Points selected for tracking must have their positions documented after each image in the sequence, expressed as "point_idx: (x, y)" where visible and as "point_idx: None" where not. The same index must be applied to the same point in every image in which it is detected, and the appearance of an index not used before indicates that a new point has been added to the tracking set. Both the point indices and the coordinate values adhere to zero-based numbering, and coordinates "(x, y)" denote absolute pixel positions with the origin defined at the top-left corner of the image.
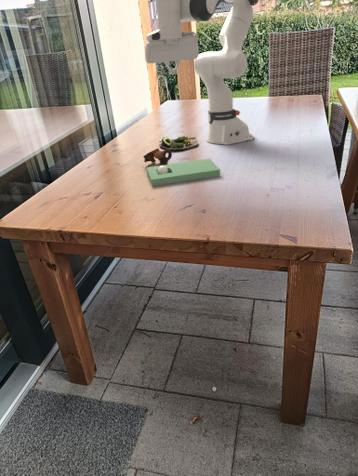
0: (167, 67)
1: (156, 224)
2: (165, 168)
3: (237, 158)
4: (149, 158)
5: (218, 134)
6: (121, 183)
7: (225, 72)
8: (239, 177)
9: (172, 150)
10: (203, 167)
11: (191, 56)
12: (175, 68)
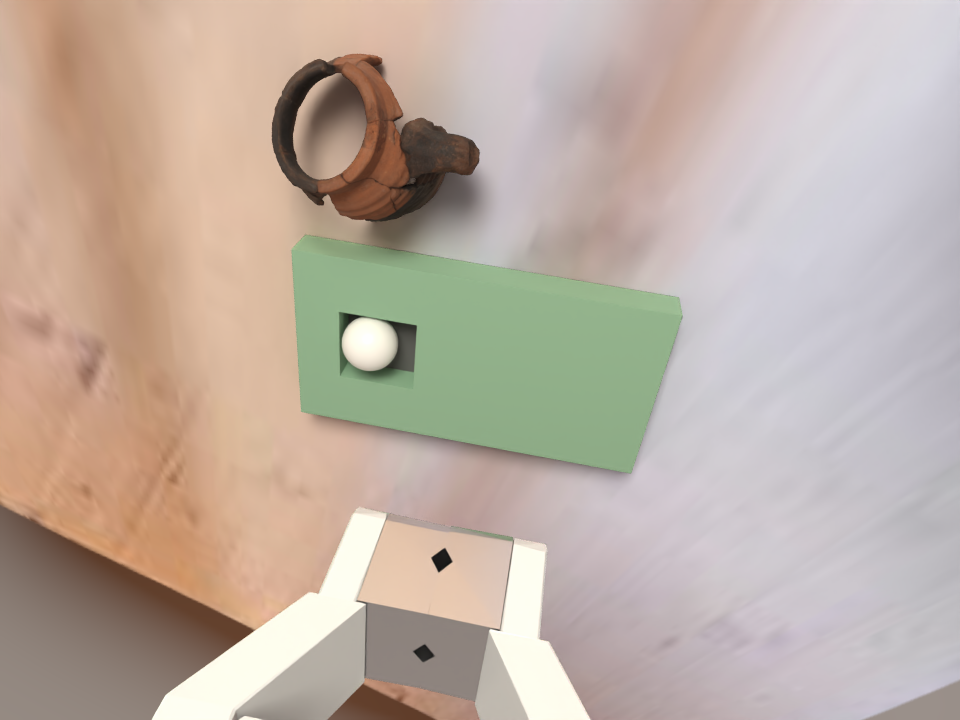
0: (259, 631)
1: None
2: (378, 368)
3: (890, 297)
4: (308, 196)
5: None
6: (173, 291)
7: None
8: (692, 504)
9: None
10: (576, 413)
11: None
12: (479, 707)
